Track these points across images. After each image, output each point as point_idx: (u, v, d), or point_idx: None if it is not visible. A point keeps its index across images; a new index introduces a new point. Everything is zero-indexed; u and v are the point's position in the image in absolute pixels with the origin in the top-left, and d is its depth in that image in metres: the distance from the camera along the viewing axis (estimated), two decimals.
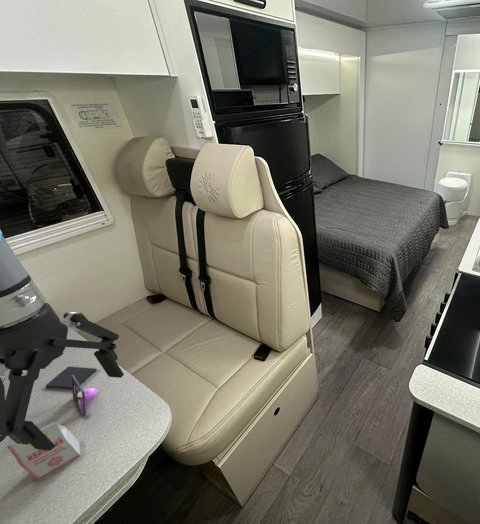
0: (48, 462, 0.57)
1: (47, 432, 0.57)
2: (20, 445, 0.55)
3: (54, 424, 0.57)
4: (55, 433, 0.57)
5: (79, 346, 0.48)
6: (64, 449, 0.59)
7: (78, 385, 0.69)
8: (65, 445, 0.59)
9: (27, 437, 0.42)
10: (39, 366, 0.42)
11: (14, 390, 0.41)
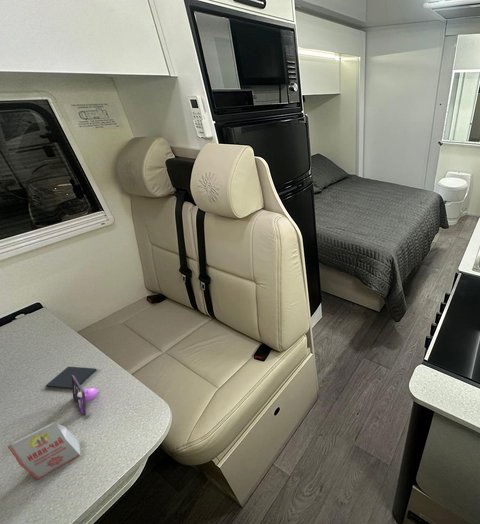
0: (48, 462, 0.57)
1: (47, 432, 0.57)
2: (20, 445, 0.55)
3: (54, 424, 0.57)
4: (55, 433, 0.57)
5: None
6: (64, 449, 0.59)
7: (78, 385, 0.69)
8: (65, 445, 0.59)
9: None
10: None
11: None
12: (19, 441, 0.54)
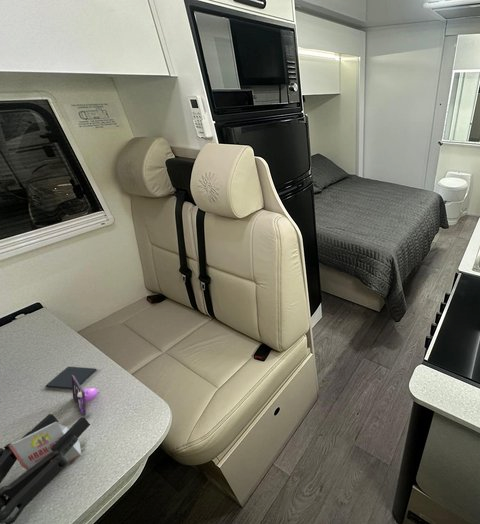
0: None
1: (48, 432, 0.57)
2: (21, 445, 0.55)
3: (55, 424, 0.57)
4: (56, 433, 0.57)
5: None
6: None
7: (78, 385, 0.69)
8: None
9: None
10: None
11: None
12: (20, 441, 0.54)
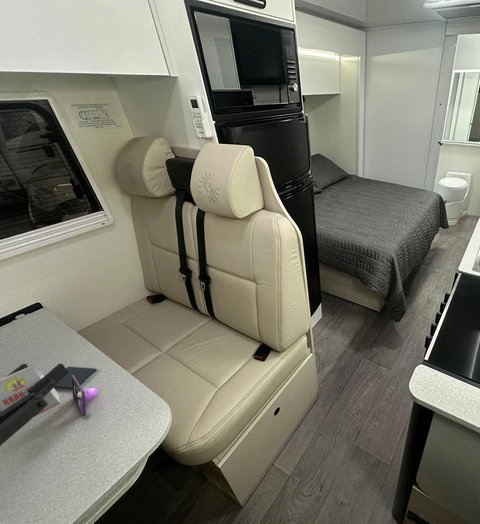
0: None
1: (24, 376, 0.55)
2: None
3: (31, 368, 0.55)
4: (32, 377, 0.55)
5: None
6: None
7: (78, 385, 0.69)
8: None
9: None
10: None
11: None
12: None
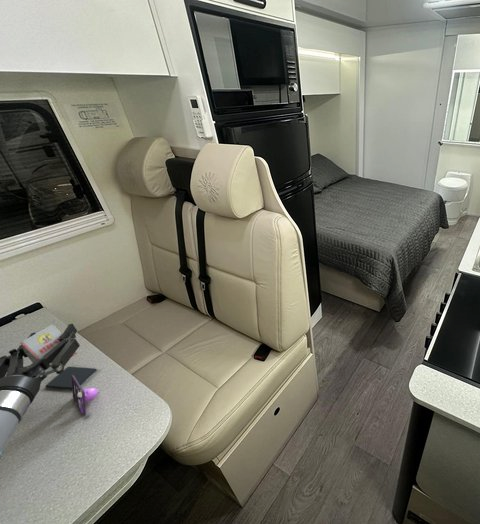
0: None
1: (49, 332, 0.72)
2: (30, 342, 0.69)
3: (53, 326, 0.73)
4: (55, 333, 0.73)
5: None
6: None
7: (78, 385, 0.69)
8: None
9: None
10: None
11: None
12: (29, 338, 0.69)
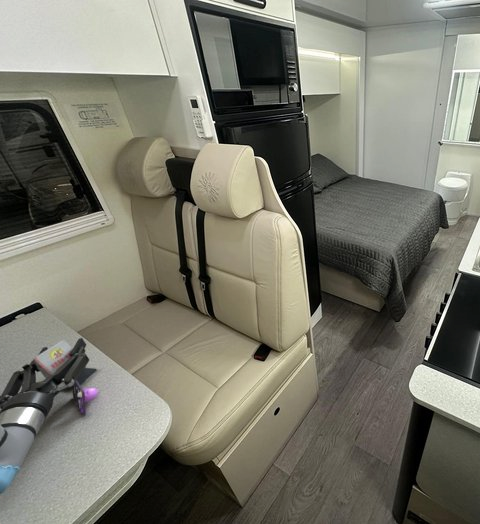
0: None
1: (60, 347, 0.75)
2: (42, 357, 0.72)
3: (64, 341, 0.76)
4: (66, 347, 0.76)
5: None
6: None
7: (78, 385, 0.69)
8: None
9: None
10: None
11: None
12: (41, 354, 0.72)
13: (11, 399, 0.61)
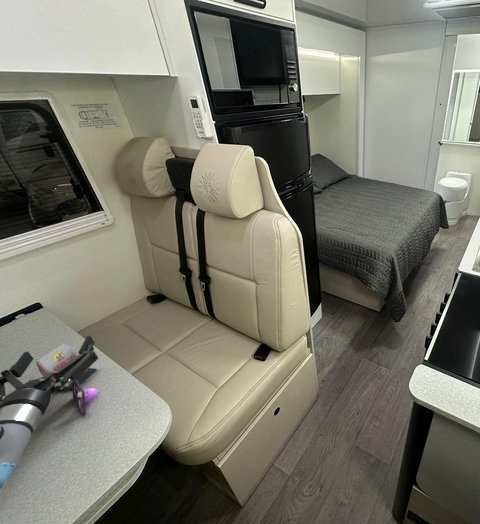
0: None
1: (62, 350, 0.76)
2: (45, 361, 0.72)
3: (65, 344, 0.76)
4: (68, 351, 0.77)
5: (63, 376, 0.70)
6: None
7: (78, 385, 0.69)
8: None
9: None
10: None
11: None
12: (43, 357, 0.72)
13: (8, 396, 0.60)
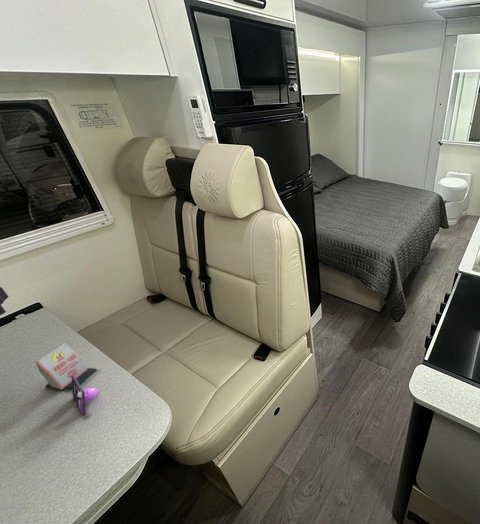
0: (67, 374, 0.76)
1: (62, 350, 0.75)
2: (44, 361, 0.72)
3: (65, 344, 0.76)
4: (68, 351, 0.77)
5: None
6: (77, 363, 0.78)
7: (78, 385, 0.69)
8: (77, 360, 0.78)
9: None
10: None
11: None
12: (43, 358, 0.72)
13: None
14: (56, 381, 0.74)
